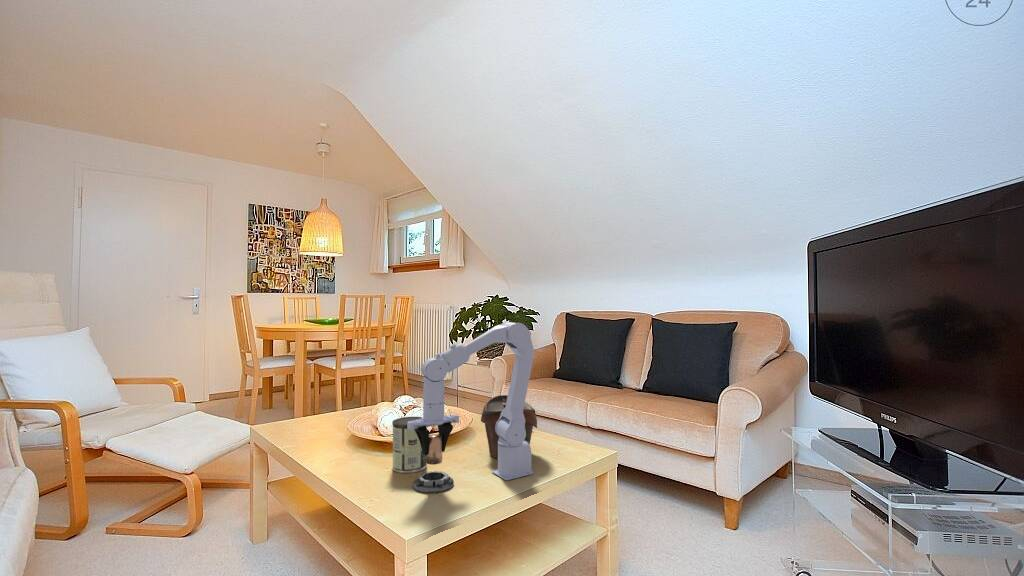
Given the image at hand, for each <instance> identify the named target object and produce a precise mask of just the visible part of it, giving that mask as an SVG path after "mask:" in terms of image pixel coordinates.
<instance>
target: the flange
mask: <svg viewBox="0 0 1024 576" xmlns="http://www.w3.org/2000/svg"><path fill="white" fill-rule="evenodd" d="M454 485H455V484H454V479H453V478H452V477H451V476H449V473H446V472H445V471H440V470H433V471H432V470H431V471H426V472H423V473H421V474H420V475H419V476H418V477H417V478H416V479H415V480H414V481H412V488H413V490H414V491H416V492H418V493H422V494H438V493H442V492H447V491H449V490H450V489H452V488H453V487H454Z"/></svg>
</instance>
